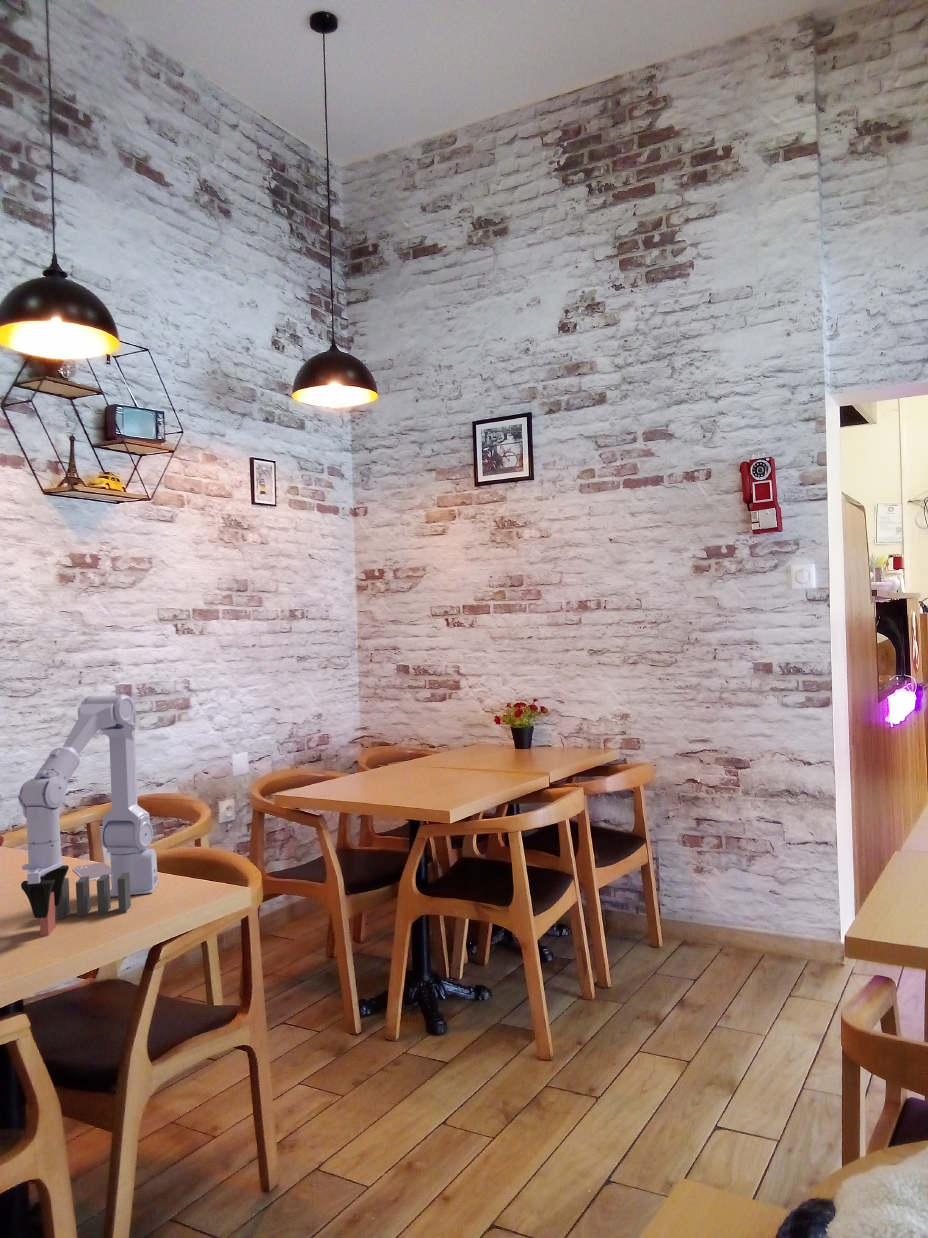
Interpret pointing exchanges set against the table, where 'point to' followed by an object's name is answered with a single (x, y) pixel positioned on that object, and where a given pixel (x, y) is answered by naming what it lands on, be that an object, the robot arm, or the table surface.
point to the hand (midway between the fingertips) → (47, 911)
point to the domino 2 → (83, 896)
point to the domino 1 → (63, 901)
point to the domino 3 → (103, 894)
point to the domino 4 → (124, 892)
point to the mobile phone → (93, 870)
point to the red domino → (48, 919)
